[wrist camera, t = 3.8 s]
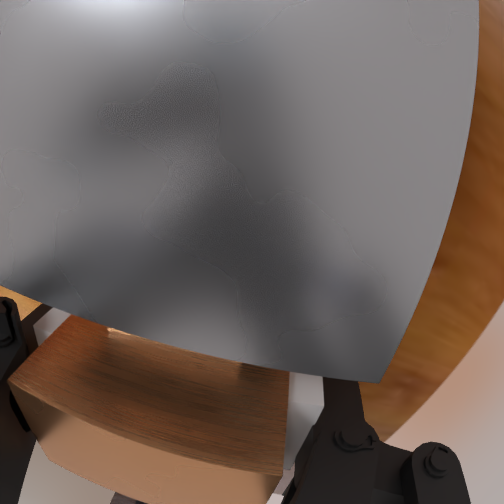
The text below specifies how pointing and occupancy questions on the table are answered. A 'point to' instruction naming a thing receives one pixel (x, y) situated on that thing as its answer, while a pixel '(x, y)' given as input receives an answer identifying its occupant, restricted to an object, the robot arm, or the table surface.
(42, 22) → the sleeve
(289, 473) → the table surface
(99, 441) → the plug
